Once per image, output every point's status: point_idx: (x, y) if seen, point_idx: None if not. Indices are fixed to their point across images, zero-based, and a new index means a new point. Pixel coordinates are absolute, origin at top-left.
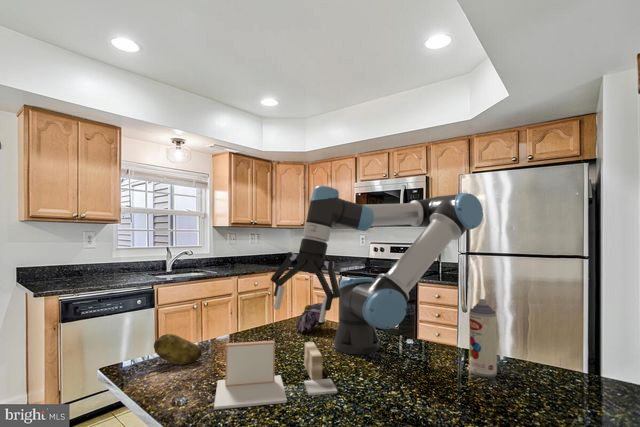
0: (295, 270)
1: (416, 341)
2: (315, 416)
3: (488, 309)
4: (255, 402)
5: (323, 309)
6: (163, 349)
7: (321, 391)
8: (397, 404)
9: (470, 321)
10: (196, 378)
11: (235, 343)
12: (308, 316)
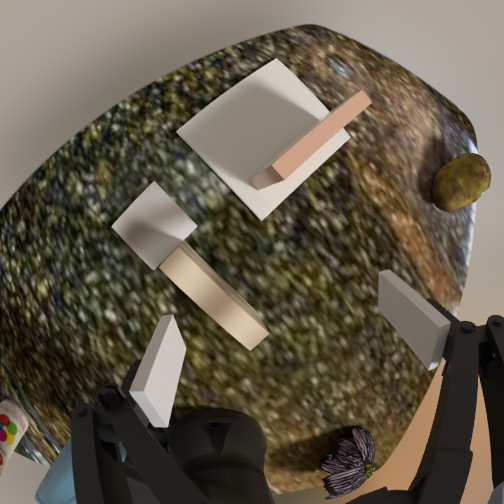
0: (439, 449)
1: None
2: (107, 125)
3: None
4: (224, 94)
5: (149, 350)
6: (466, 154)
7: (135, 202)
8: (23, 248)
9: None
10: (386, 139)
11: (355, 109)
12: (355, 457)
